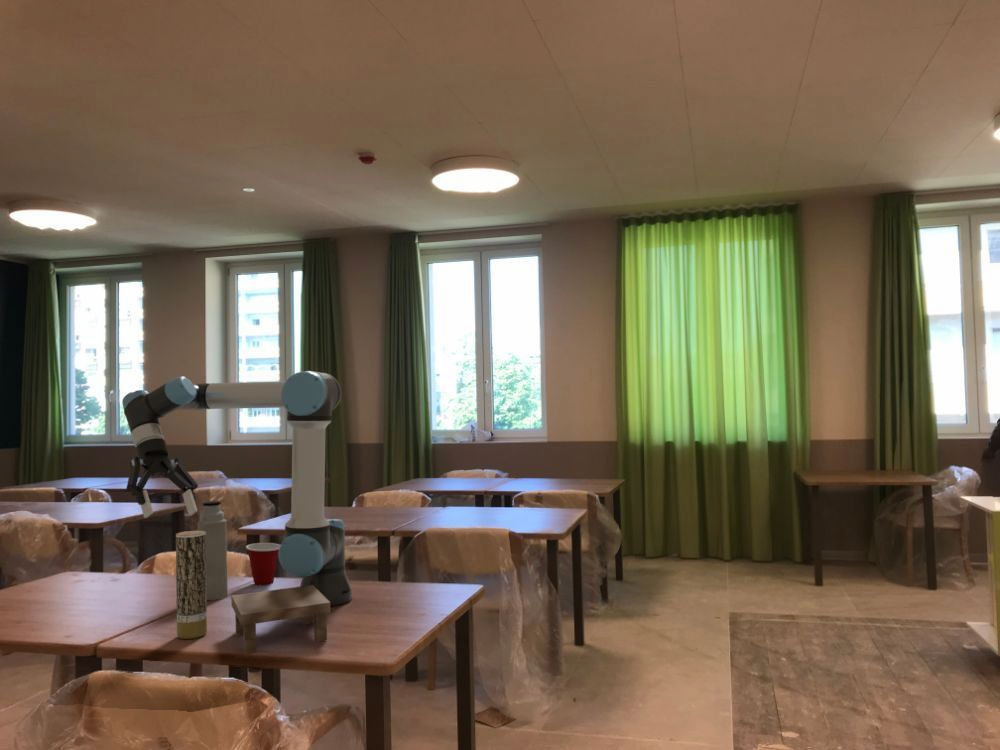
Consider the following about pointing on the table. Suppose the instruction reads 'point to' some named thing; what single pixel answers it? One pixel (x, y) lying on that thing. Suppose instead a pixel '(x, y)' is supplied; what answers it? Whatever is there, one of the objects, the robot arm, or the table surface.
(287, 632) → the table surface
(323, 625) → the stool
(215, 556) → the thermos bottle
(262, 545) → the plastic cup
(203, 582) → the paper tube
